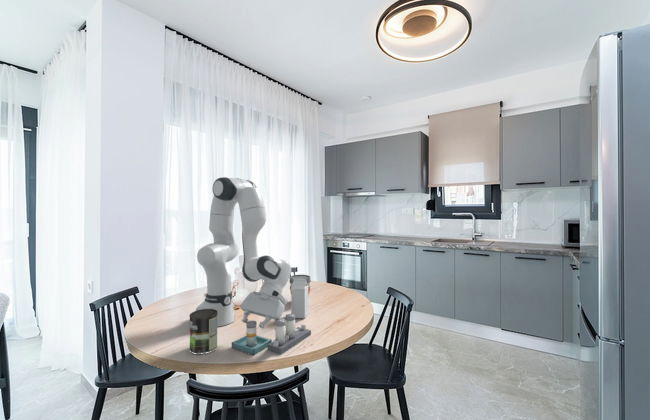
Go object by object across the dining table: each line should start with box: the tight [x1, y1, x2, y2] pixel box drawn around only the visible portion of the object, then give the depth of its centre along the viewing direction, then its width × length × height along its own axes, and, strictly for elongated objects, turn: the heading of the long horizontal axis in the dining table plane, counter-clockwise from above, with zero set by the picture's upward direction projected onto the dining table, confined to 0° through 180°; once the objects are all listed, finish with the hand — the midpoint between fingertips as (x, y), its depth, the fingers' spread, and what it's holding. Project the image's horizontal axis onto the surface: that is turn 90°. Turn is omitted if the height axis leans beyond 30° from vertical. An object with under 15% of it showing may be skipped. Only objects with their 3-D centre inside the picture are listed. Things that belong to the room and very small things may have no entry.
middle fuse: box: [285, 313, 296, 339], centre depth 121 cm, size 4×4×9 cm
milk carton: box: [290, 279, 309, 319], centre depth 150 cm, size 7×7×19 cm
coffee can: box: [189, 309, 218, 354], centre depth 115 cm, size 10×10×14 cm
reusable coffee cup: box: [288, 274, 311, 296], centre depth 172 cm, size 13×13×15 cm
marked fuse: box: [245, 320, 257, 347], centre depth 117 cm, size 4×4×9 cm
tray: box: [231, 334, 273, 356], centre depth 117 cm, size 12×10×2 cm
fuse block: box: [267, 323, 312, 355], centre depth 121 cm, size 7×20×4 cm, turn 149°
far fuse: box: [274, 318, 286, 346], centre depth 115 cm, size 4×4×9 cm
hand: (252, 324), depth 118 cm, fingers open, 8 cm apart
